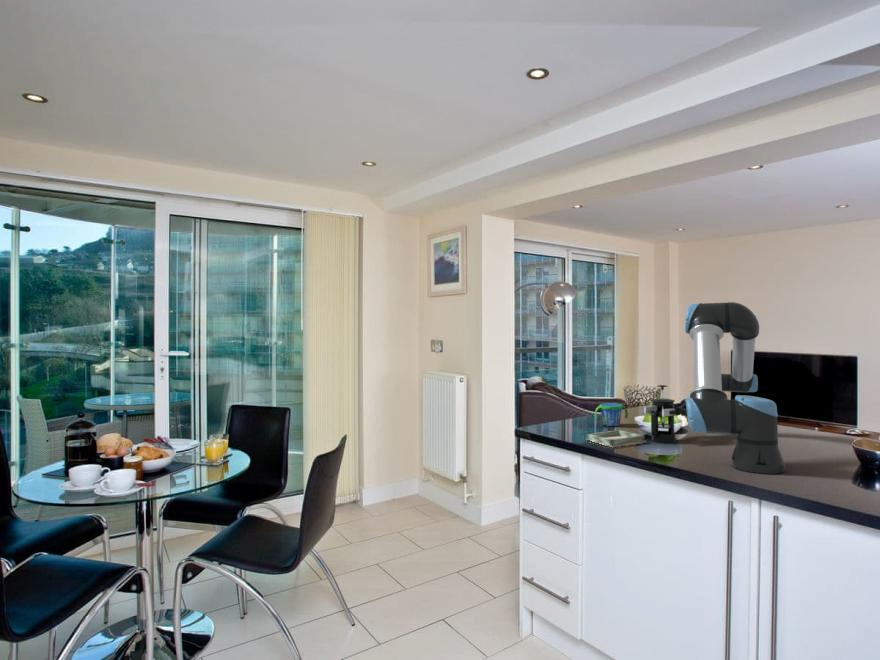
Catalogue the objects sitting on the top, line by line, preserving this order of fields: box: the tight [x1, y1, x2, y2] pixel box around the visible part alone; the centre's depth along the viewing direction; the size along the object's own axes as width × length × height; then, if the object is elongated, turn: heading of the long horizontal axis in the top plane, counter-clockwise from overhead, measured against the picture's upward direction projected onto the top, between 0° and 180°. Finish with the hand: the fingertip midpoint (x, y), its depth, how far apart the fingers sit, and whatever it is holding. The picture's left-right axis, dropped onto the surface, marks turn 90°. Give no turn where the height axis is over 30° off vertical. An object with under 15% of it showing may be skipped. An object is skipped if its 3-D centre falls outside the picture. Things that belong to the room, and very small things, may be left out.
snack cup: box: [594, 402, 629, 427], centre depth 245 cm, size 16×10×10 cm
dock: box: [584, 429, 647, 449], centre depth 210 cm, size 16×18×3 cm
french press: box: [650, 384, 677, 444], centre depth 210 cm, size 12×9×23 cm
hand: (653, 411), depth 208 cm, fingers closed on french press, 8 cm apart
